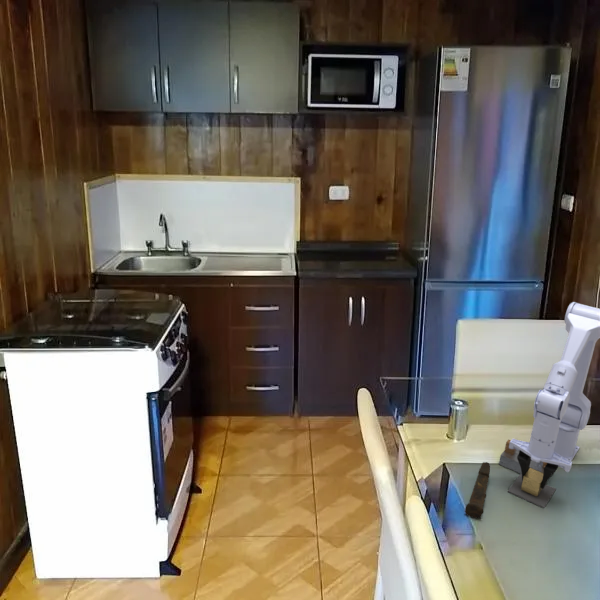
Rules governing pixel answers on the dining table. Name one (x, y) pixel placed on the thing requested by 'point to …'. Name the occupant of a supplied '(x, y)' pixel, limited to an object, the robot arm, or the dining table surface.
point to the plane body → (511, 461)
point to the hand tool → (479, 492)
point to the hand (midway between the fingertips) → (533, 482)
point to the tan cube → (532, 482)
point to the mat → (537, 500)
